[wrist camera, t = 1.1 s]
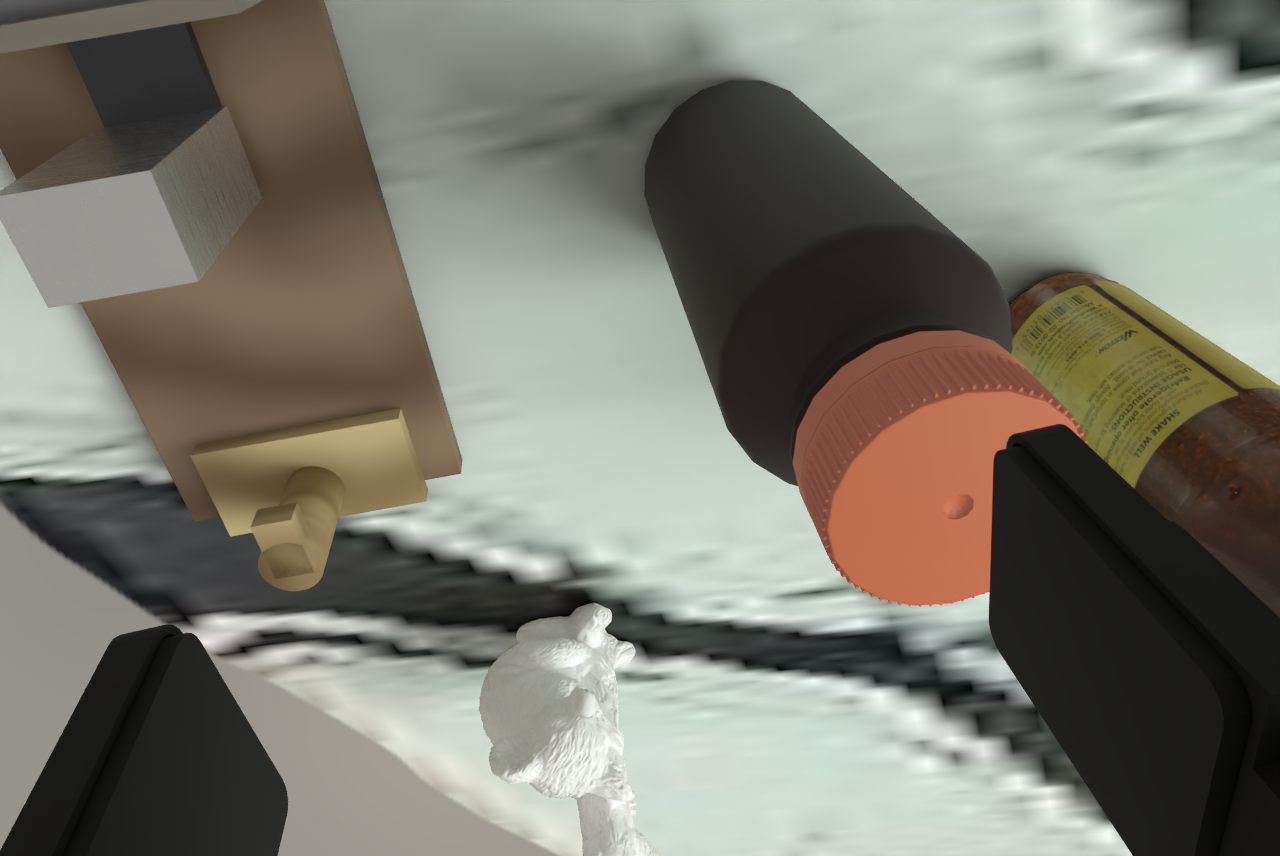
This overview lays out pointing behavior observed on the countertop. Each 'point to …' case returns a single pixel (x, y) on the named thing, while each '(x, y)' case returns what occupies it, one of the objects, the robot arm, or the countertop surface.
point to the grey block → (135, 176)
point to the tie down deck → (258, 284)
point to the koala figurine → (566, 723)
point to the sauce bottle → (1164, 414)
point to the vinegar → (844, 337)
